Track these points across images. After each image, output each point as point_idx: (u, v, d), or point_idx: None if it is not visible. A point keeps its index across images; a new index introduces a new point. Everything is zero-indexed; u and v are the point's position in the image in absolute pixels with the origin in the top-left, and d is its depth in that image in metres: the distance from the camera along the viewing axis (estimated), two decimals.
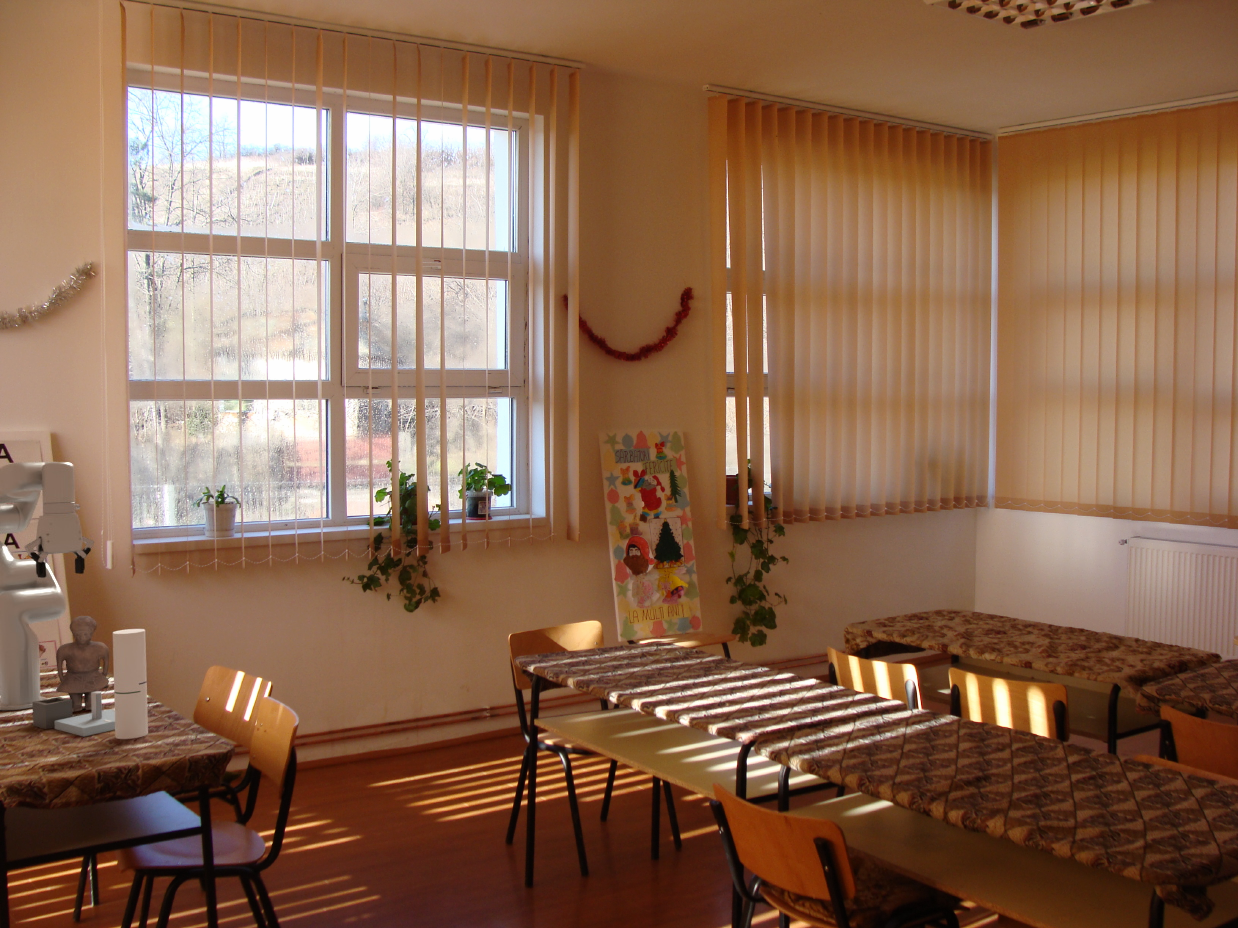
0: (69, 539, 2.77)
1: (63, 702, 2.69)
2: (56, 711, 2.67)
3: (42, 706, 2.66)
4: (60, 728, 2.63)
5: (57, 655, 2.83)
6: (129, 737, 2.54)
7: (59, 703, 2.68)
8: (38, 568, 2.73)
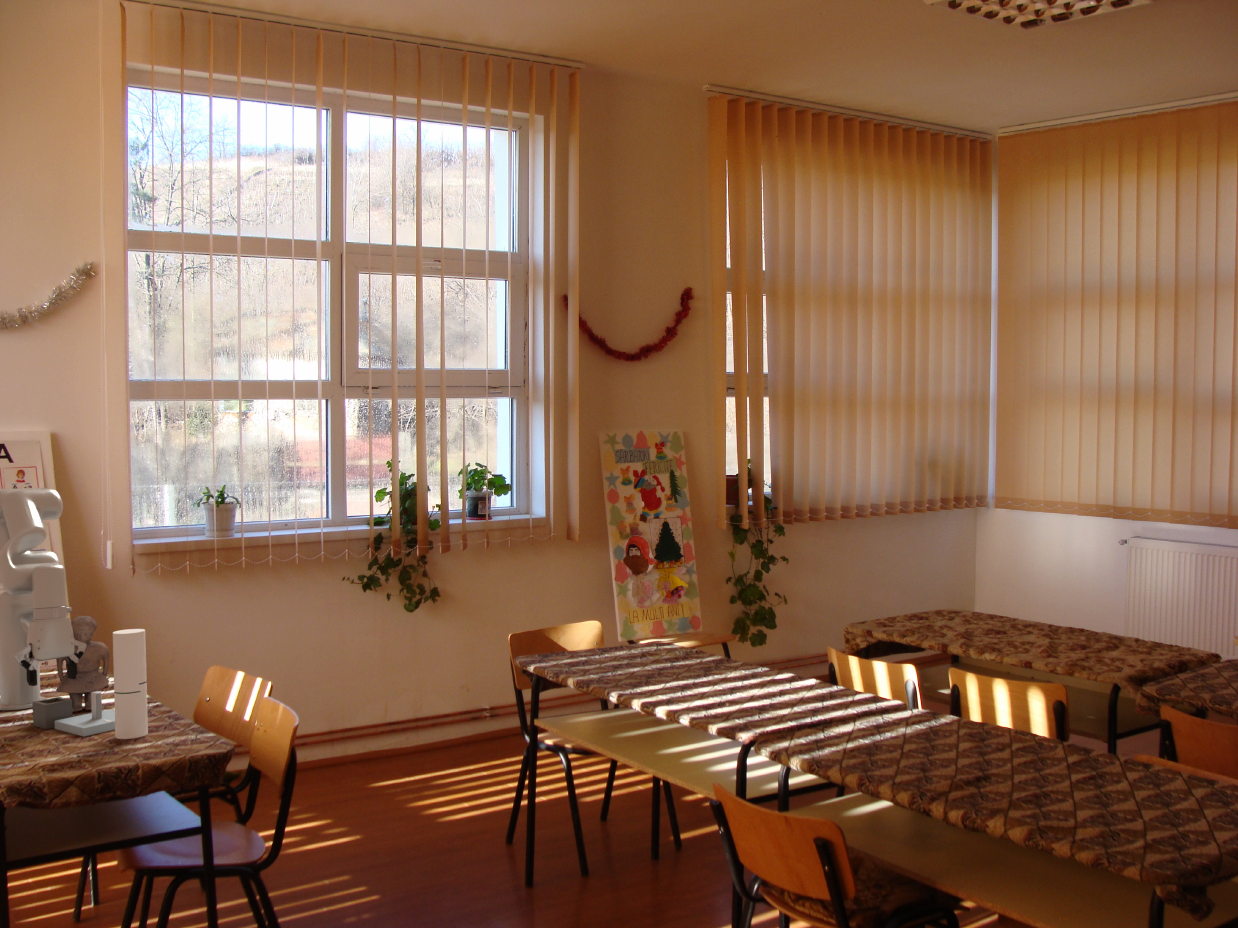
0: (61, 644, 2.69)
1: (63, 702, 2.69)
2: (56, 711, 2.67)
3: (42, 706, 2.66)
4: (60, 728, 2.63)
5: None
6: (129, 737, 2.54)
7: (59, 703, 2.68)
8: (29, 676, 2.64)
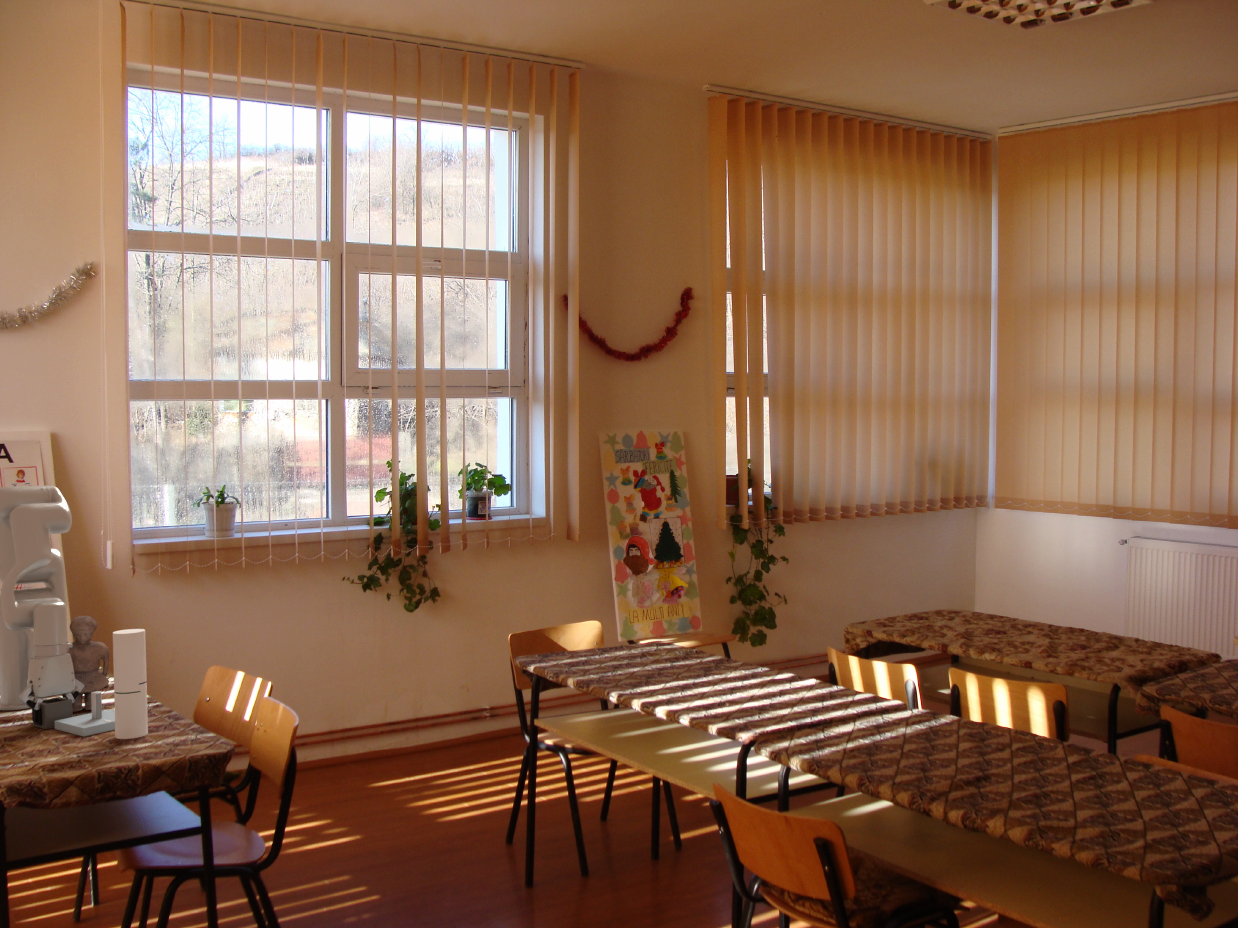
0: (61, 681, 2.69)
1: (63, 702, 2.69)
2: (56, 711, 2.67)
3: (42, 706, 2.66)
4: (60, 728, 2.63)
5: None
6: (129, 737, 2.54)
7: (59, 703, 2.68)
8: (34, 716, 2.66)
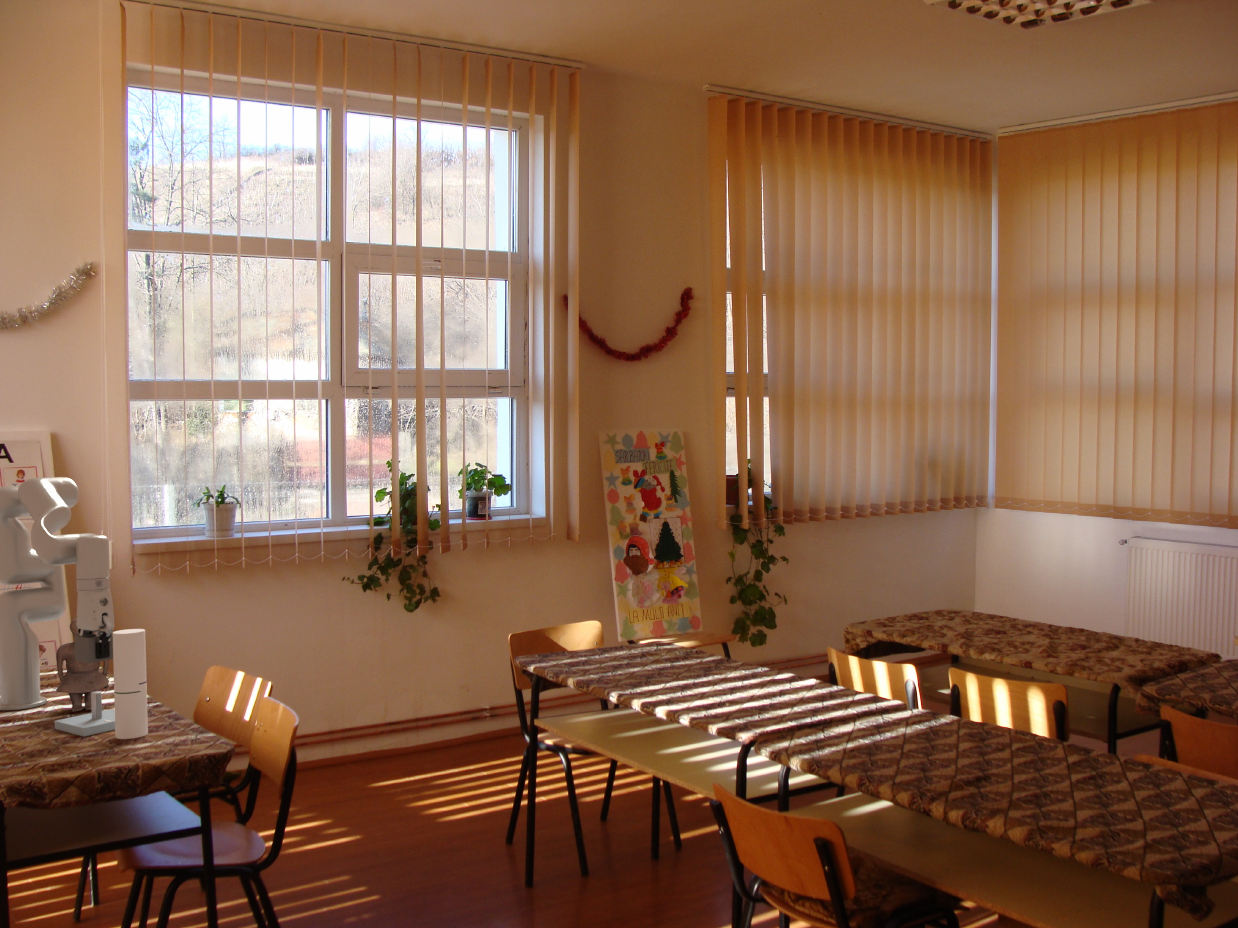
0: (87, 617, 2.64)
1: (83, 639, 2.63)
2: (80, 646, 2.64)
3: None
4: (60, 728, 2.63)
5: (57, 655, 2.83)
6: (129, 737, 2.54)
7: (81, 639, 2.64)
8: None
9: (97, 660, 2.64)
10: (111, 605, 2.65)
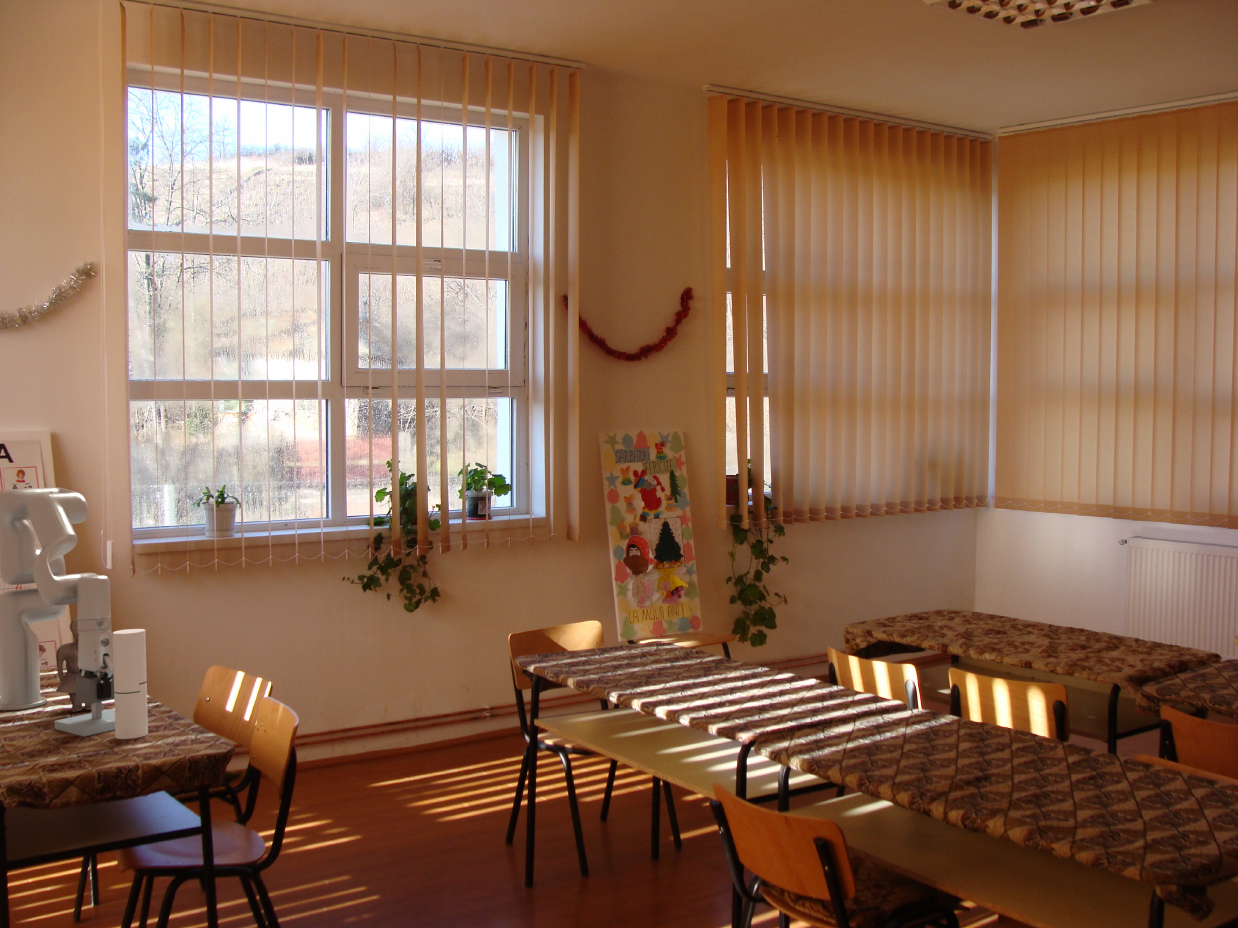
0: (88, 658, 2.64)
1: (85, 679, 2.63)
2: (81, 686, 2.64)
3: None
4: (60, 728, 2.63)
5: (57, 655, 2.83)
6: (129, 737, 2.54)
7: (83, 679, 2.64)
8: None
9: (99, 701, 2.64)
10: (112, 645, 2.65)
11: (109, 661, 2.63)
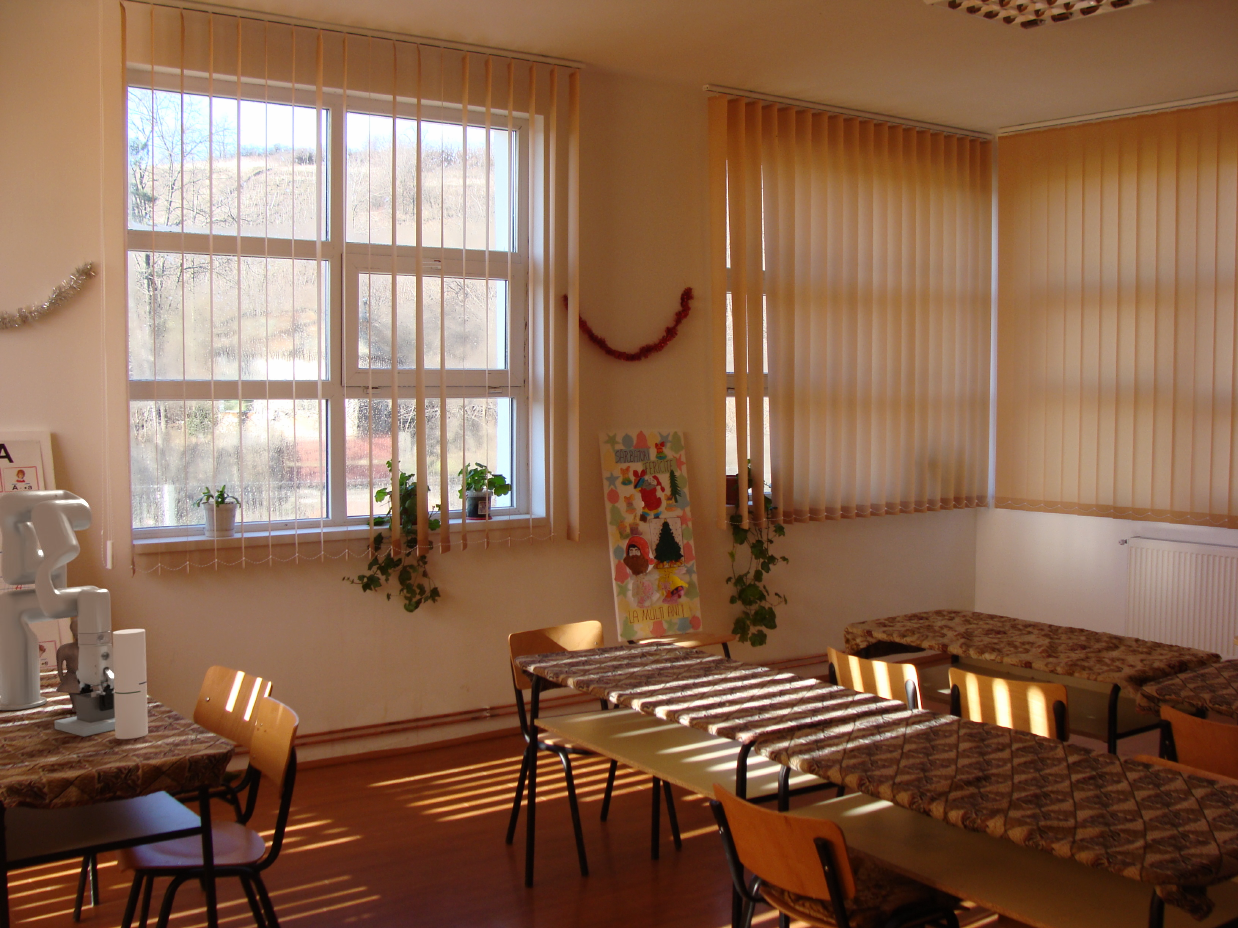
0: (88, 671, 2.64)
1: (85, 698, 2.63)
2: (81, 705, 2.64)
3: None
4: (60, 728, 2.63)
5: (57, 655, 2.83)
6: (129, 737, 2.54)
7: (83, 698, 2.64)
8: None
9: (99, 719, 2.64)
10: (112, 659, 2.65)
11: (110, 672, 2.63)
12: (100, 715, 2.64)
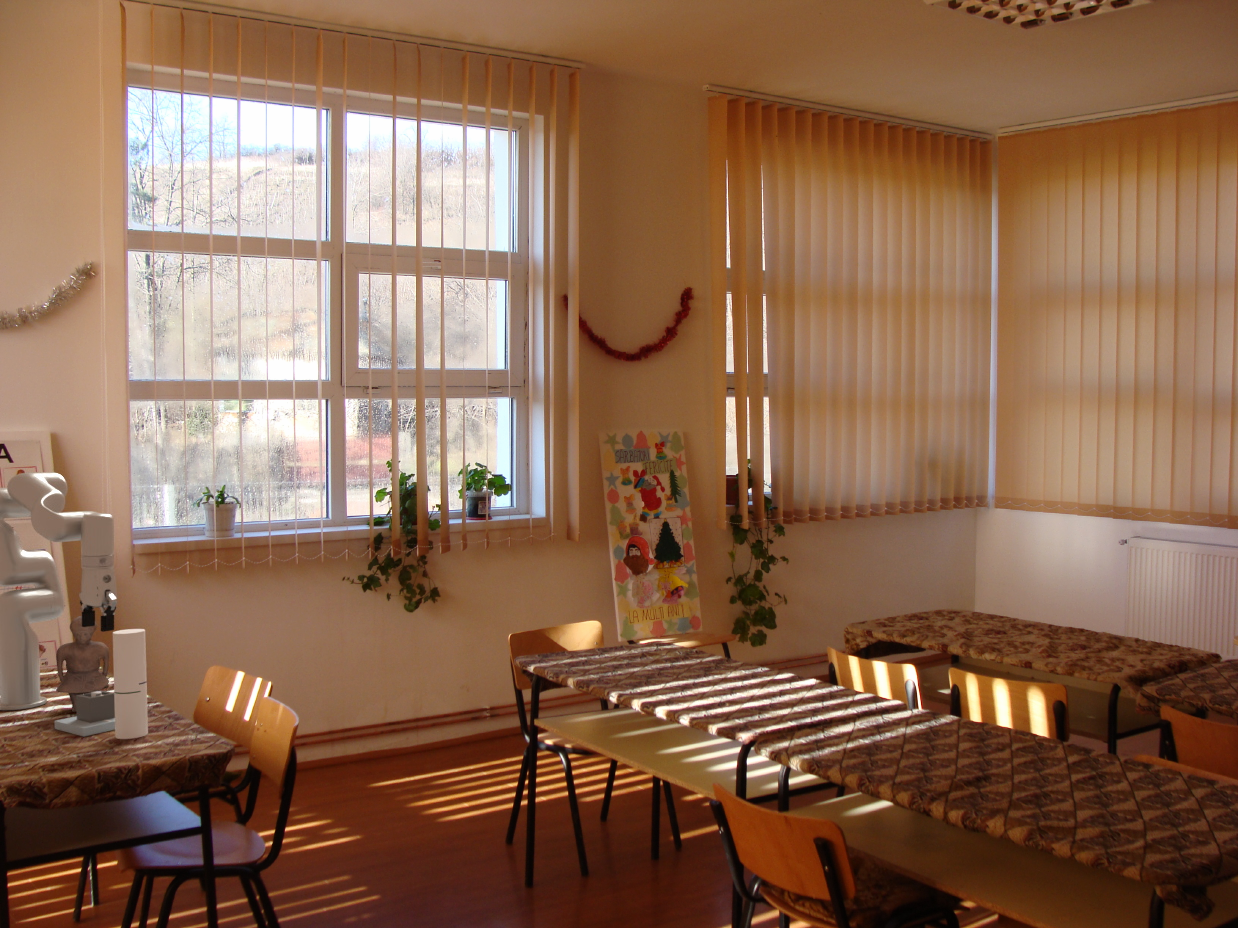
0: (90, 593, 2.71)
1: (85, 698, 2.63)
2: (81, 705, 2.64)
3: None
4: (60, 728, 2.63)
5: (57, 655, 2.83)
6: (129, 737, 2.54)
7: (83, 698, 2.64)
8: None
9: (99, 719, 2.64)
10: (114, 582, 2.72)
11: (111, 594, 2.69)
12: (100, 715, 2.64)
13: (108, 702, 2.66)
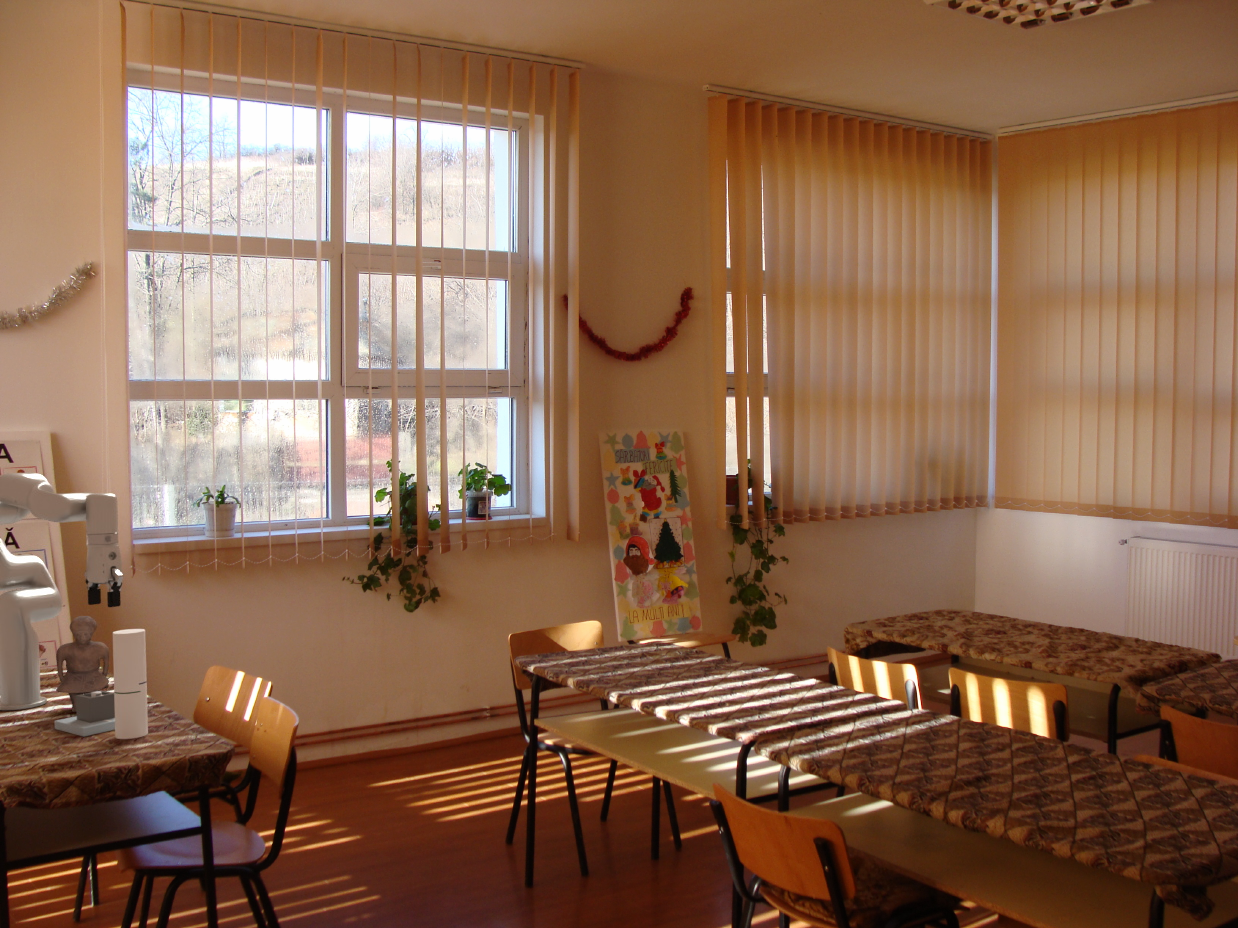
0: (96, 571, 2.78)
1: (85, 698, 2.63)
2: (81, 705, 2.64)
3: None
4: (60, 728, 2.63)
5: (57, 655, 2.83)
6: (129, 737, 2.54)
7: (83, 698, 2.64)
8: None
9: (99, 719, 2.64)
10: (119, 559, 2.79)
11: (117, 570, 2.77)
12: (100, 715, 2.64)
13: (108, 702, 2.66)
